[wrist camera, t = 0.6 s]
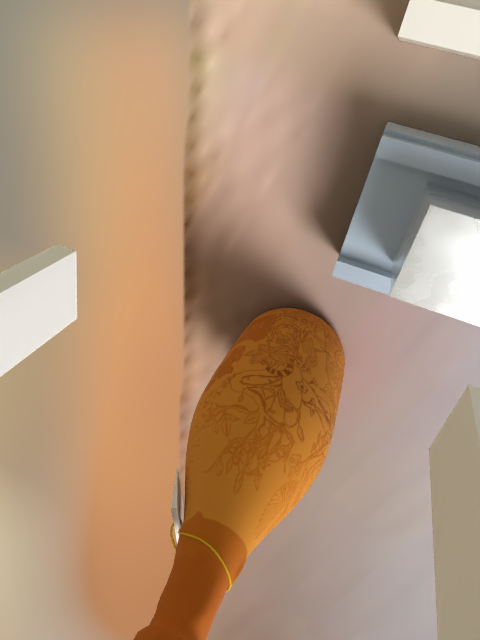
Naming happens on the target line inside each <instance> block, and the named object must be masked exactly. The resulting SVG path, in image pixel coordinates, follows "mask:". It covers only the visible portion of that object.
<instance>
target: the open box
mask: <svg viewBox="0 0 480 640" xmlns="http://www.w3.org/2000/svg"><path fill="white" fill-rule="evenodd" d="M427 182H429V183H432V184H435V185H439V186H442V187H446V188H449V189H453V190H456V191H460V192H463V193H467V194H470V195H473V196H477V197H480V146H477V145H473V144H469V143H466V142H462V141H458V140H455V139H451V138H447V137H444V136H440V135H436V134H433V133H429V132H425V131H422V130H418V129H414V128H411V127H407V126H403V125H400V124H396V123H392V122H389V121H388V122H387V124H386V127H385V129H384V132H383V135H382V138H381V140H380V143H379V146H378V149H377V151H376V154H375V157H374V160H373V163H372V166H371V168H370V171H369V174H368V177H367V179H366V182H365V185H364V188H363V191H362V193H361V196H360V199H359V202H358V204H357V207H356V210H355V213H354V215H353V218H352V221H351V224H350V227H349V229H348V232H347V235H346V238H345V240H344V243H343V246H342V249H341V252H340V254H339V257H338V260H337V262H336V265H335V268H334V271H333V274H332V276H333V277H336V278H339V279H342V280H345V281H348V282H351V283H354V284H357V285H360V286H363V287H366V288H369V289H372V290H375V291H378V292H381V293H384V294H387V295H389V293H390V282H391V272H392V262H393V259H394V257H395V255H396V253H397V250H398V248H399V246H400V243H401V241H402V239H403V236H404V234H405V232H406V230H407V227H408V225H409V223H410V220H411V218H412V216H413V213H414V211H415V209H416V207H417V204H418V202H419V200H420V197H421V195H422V193H423V190H424V188H425V186H426V184H427Z"/></svg>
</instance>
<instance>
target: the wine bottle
mask: <svg viewBox="0 0 480 640" xmlns="http://www.w3.org/2000/svg"><path fill="white" fill-rule="evenodd" d="M344 364H345V358H344V351H343V347H342V344H341V342H340V340H339V338H338V336H337V334H336V333H335V331H334V330H333V329H332V328H331V327H330V326H329V325H328V324H327V323H326V322H325V321H324V320H322V319H321V318H319V317H318V316H316V315H314V314H312V313H309V312H307V311H304V310H300V309H295V308H277V309H273V310H270V311H267V312H265V313H263V314H261V315H259V316H258V317H256V318H255V319H254V320H253V321H252V322H251V323H250V324H249V325H248V326H247V327H246V329H245V330H244V331H243V332H242V334H241V335H240V337H239V338H238V339H237V341H236V342H235V344H234V345H233V346H232V348H231V349H230V351H229V352H228V354H227V355H226V357H225V358H224V360H223V361H222V363H221V364H220V366H219V367H218V369H217V370H216V372H215V373H214V375H213V377H212V378H211V380H210V382H209V383H208V385H207V387H206V388H205V390H204V392H203V394H202V396H201V398H200V400H199V402H198V404H197V407H196V410H195V412H194V415H193V419H192V423H191V427H190V432H189V438H188V444H187V452H186V468H185V508H184V521H183V499H182V493H181V486H180V480H179V474H178V469H176V476H175V484H174V492H173V500H172V508H171V511H172V517H173V524H172V526H171V539H172V542H173V545H174V548H175V550H176V554H175V559H174V565H173V568H172V571H171V573H170V576H169V579H168V582H167V584H166V586H165V588H164V591H163V593H162V595H161V597H160V600H159V602H158V606H157V610H156V613H155V615H154V617H153V619H152V621H151V623H150V625H149V626H147V627H145V628H143V629H142V630H140V631H139V632H138V633H137V635H136V636H135V638H134V640H206V638H207V635H208V632H209V630H210V627H211V624H212V622H213V619H214V617H215V615H216V612H217V610H218V608H219V606H220V604H221V602H222V599H223V597H224V595H225V592H226V591H228V590H230V588H231V585H232V584H233V583H234V582H235V580H236V579H237V577H238V575H239V574H240V572H241V571H242V569H243V566H244V564H245V562H246V559H247V556H248V555H249V554H250V552H251V551H252V550H253V549H254V548H255V547H256V546H257V545H258V544H259V543H260V542H261V540H262V539H263V538H264V537H265V536H266V535H267V534H268V533H269V532H270V531H271V530H272V529H273V528H274V527H275V526H276V525H277V524H278V523H279V522H281V521H282V520H283V519H284V518H285V516H286V515H287V514H288V513H289V512H290V511H291V510H292V509H293V508H294V507H295V506H296V504H297V503H298V502H299V501H300V500H301V498H302V497H303V496H304V494H305V493H306V492H307V490H308V489H309V487H310V486H311V484H312V483H313V481H314V480H315V478H316V477H317V475H318V473H319V471H320V469H321V467H322V465H323V463H324V460H325V458H326V455H327V452H328V449H329V445H330V441H331V438H332V434H333V429H334V425H335V420H336V415H337V410H338V405H339V399H340V393H341V387H342V381H343V375H344ZM173 526H174V528H175V533H176V539H177V548H176V545H175V543H174V539H173V535H172V530H173Z"/></svg>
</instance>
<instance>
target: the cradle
mask: <svg viewBox="0 0 480 640" xmlns="http://www.w3.org/2000/svg"><path fill="white" fill-rule="evenodd" d="M398 38H399V40H400V41H404V42H408V43H412V44H416V45H420V46H425V47H429V48H433V49H437V50H441V51H445V52H449V53H453V54H458V55H462V56H466V57H470V58H474V59H478V60H480V0H410V1H409V4H408V7H407V10H406V13H405V16H404V19H403V22H402V25H401V28H400V31H399V34H398Z"/></svg>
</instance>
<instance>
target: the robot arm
mask: <svg viewBox="0 0 480 640" xmlns="http://www.w3.org/2000/svg"><path fill="white" fill-rule="evenodd" d="M76 265H77V263H76V251H75V250H73V249H70V248H67V247H64V246H60V245H58V244H56V245H54V246H52V247H50V248H48V249H46V250H44V251H42V252H40V253H38V254H36V255H34V256H32V257H30V258H28V259H26V260H24V261H22V262H20V263H18V264H16V265H15V266H13V267H11V268H9V269H7V270H5V271H3V272H1V273H0V377H1V376H2V375H3V374H5V373H6V372H7V371H8V370H10V369H11V368H12V367H14V366H15V365H16V364H18V363H19V362H20V361H22V360H23V359H24V358H26V357H27V356H28V355H30V354H31V353H32V352H34V351H35V350H36V349H37V348H39V347H40V346H41V345H43V344H44V343H45V342H47V341H48V340H49V339H51V338H52V337H53V336H54V335H56V334H57V333H59V332H60V331H61V330H62V329H64V328H65V327H66V326H68V325H69V324H70V323H72V322H73V321H74V320H76V319H77V271H76V270H77V267H76ZM429 459H430V480H431V502H432V524H433V545H434V567H435V588H436V610H437V631H438V640H480V388H477V387H474V386H471V385H468V386H467V388H466V390H465V391H464V393H463V395H462V396H461V398H460V399H459V401H458V403H457V404H456V406H455V408H454V409H453V411H452V412H451V414H450V416H449V417H448V419H447V421H446V422H445V424H444V425H443V427H442V429H441V430H440V432H439V434H438V435H437V437H436V439H435V440H434V442H433V443H432V445H431V447H430V448H429Z"/></svg>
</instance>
